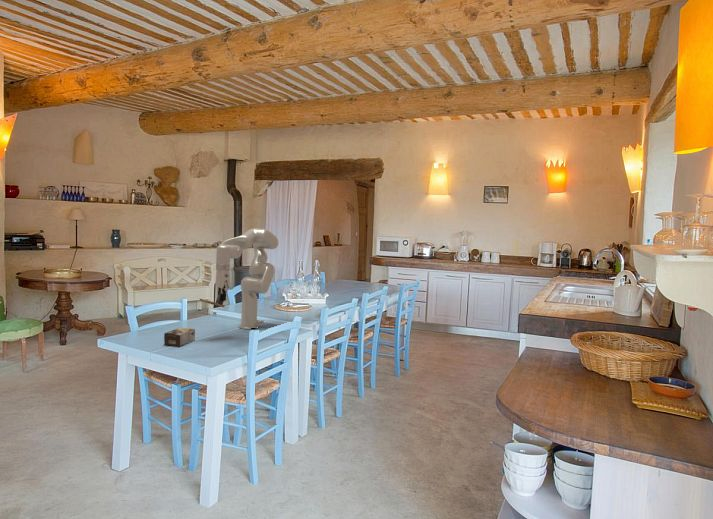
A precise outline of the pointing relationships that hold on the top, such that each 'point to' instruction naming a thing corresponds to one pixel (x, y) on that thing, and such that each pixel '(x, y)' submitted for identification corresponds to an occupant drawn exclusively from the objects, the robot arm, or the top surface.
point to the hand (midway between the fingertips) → (221, 299)
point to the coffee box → (179, 336)
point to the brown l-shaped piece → (218, 302)
